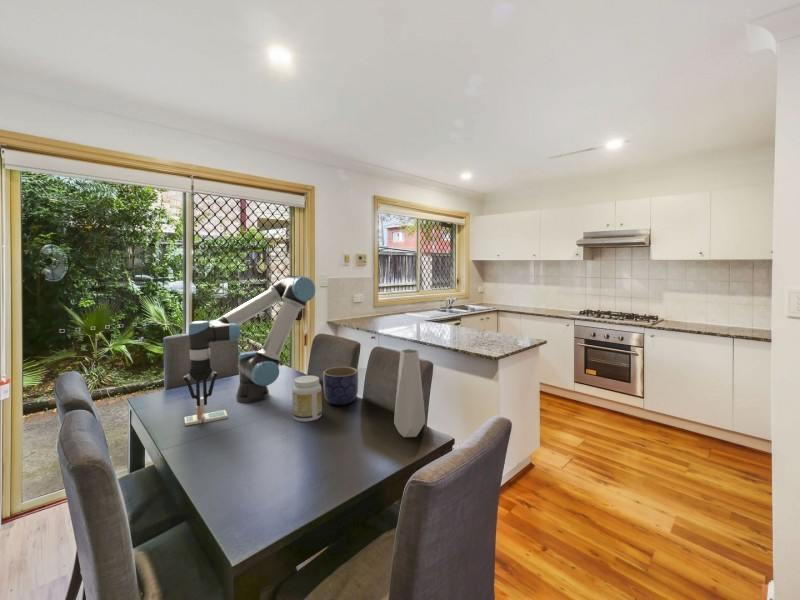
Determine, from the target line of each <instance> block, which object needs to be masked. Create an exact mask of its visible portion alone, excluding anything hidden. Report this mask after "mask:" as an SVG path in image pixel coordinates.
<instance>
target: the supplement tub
mask: <svg viewBox="0 0 800 600" xmlns="http://www.w3.org/2000/svg"><path fill="white" fill-rule="evenodd" d="M293 381H294V383H293V384H294V385H293V387H292V390H291V392H292V415H293V417H292V418H293V419H294V420H295V421H296V422H301V423H302V422H303V423H305V422H307V423H308V422H312V421H316V420H318V419H319V418H321V417H322V415H323V407H322V406H323V405H322V404H323V403H322V401H323V399H322V398H323V397H322V385H321V383H320V377H319V376H316V375H301V376H297V377H295V378H294V380H293Z"/></svg>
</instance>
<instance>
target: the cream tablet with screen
mask: <svg viewBox="0 0 800 600" xmlns="http://www.w3.org/2000/svg"><path fill="white" fill-rule="evenodd" d="M202 418H203V419H202V422H203V423H209V422H214V421H219V420H224V419H225V420H226V419H228V413H227V411H226V409H224V410H223V409H222V410H217V411H212V412H207V413H204V414H202Z"/></svg>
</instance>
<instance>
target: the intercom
mask: <svg viewBox="0 0 800 600" xmlns="http://www.w3.org/2000/svg"><path fill="white" fill-rule="evenodd" d="M195 408H196V414H193V415H189V416H184V417H183V418H184V426H185V427H187V426H192V425H197V424H202V423H203V419H202V414H201V409H200V406H197V404H196V407H195Z"/></svg>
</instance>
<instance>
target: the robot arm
mask: <svg viewBox="0 0 800 600" xmlns="http://www.w3.org/2000/svg"><path fill="white" fill-rule="evenodd" d="M315 294H316V286H315V283H314V282H313V280H312V279H311V278H309V277H306V276H302V275H288V276H285V277H284V278H282V279H280V280H279V281H277V282H275V283H273V284H272V285H269V288H268V289H267V290H265V291H264V292H262V293H260V294H259V295H257V296H255V297H253V298H252V299H250V300H248V301H246V302H244V303H243V304H241V305H239V306H238V307H235V308H234V309H232V310H230V311H229V312H228V313H225V314H224V315H222V316H220V317H219V318H217V319H212V320H211V319H210V320H209V321H208V320H197V321H196V320H195V321H192V322H190V323H189V325H188V342H189V343H188V344H189V359H190V360H189V372H188V374H186V375H184V376H182V377H183V381H185V383H186V385H187V388H188V390H189V393H190V396H191V399H196V405H197V406H200V409H201V415H203V414H205V406H207V404H208V397H211V396H212V394H213V390H214V387H215V383H216V382H215V381H216V379H217V377H218V372H217V371H213V369H212V367H211V344H214V343H216V344H217V343H223V342H224V343H225V342H233V341H237V340H239V339H240V337H241V329H240V325H242V324H243V323H245V322H247V321H249V320H250V319H251V318H254V317H255V316H256V315H259V314H260V313H262V312H264V311H266V309H269V308H270V307H272V306H273V305H275V304H277V303H280V304H281V307H280V309H279V310H278V313H277V316H276V317H275V319H274V322H273V324H272V326H271V329H270V330H269V332H268V335H267V337H266V338H265V341H264V343H263V345H262V347H261V349H259V350H250V351H243V352H240V353H239V354H238V360H237V362H238V374H239V375H238V376H239V377H238V378H239V384H238V386H237V392H236V394H235V399H236V402H239V403H245V404H248V403H250V404H251V403H258V402H262V401H265V400H266V399H268V398H269V397H270V392H269V391H270V390H269V388H268V386H270V385H272V384H273V383H275V382H276V380H277V379H278V378H279V375H280V367H279V365H280V363H281V357H280V355H281V353H282V351H283V349H284V346H285V344H286V343H287V339H288V338H289V335H290V333H291V331H292V329H293V326H294V324H295V322H296V320H297V317H298V315H299V313H300V310H302V309H304V308H305V307H306V305H307V303H308V302H309V301H311V300H312V299H313V298H314V296H315ZM210 376H211V378H210ZM191 378H192V379H193V381H195V391H194V389H193V386H192V384H191ZM208 378H210V383H209V387H208V388H207V379H208ZM200 381H202V395H203V396H201V388H200V386H201V385H200ZM207 389H208V391H207ZM195 392H196V393H195Z"/></svg>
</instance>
